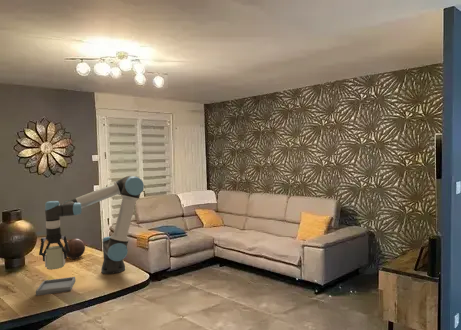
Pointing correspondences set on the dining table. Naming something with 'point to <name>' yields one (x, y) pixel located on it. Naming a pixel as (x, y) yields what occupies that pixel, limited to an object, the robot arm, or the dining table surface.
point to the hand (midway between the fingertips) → (55, 265)
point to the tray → (55, 286)
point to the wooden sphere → (75, 248)
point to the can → (54, 257)
